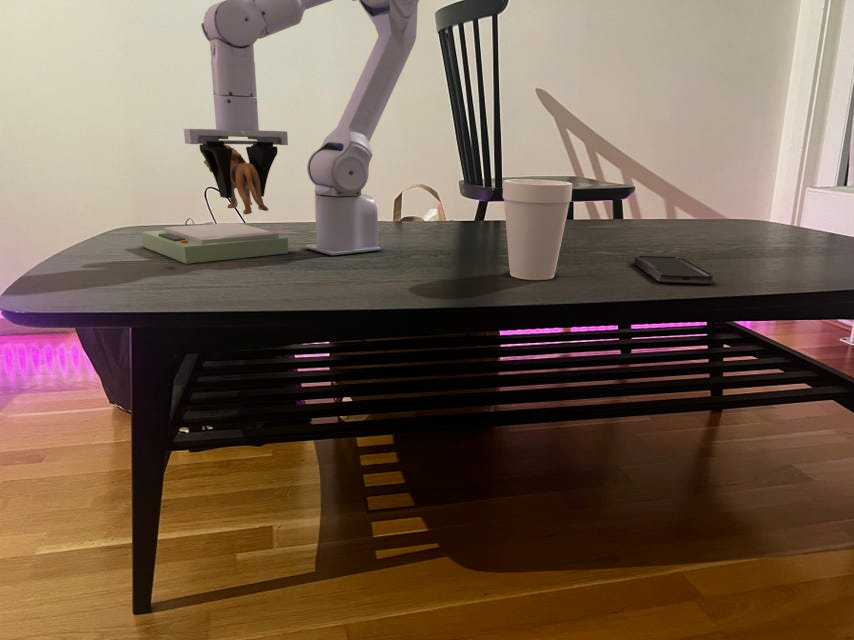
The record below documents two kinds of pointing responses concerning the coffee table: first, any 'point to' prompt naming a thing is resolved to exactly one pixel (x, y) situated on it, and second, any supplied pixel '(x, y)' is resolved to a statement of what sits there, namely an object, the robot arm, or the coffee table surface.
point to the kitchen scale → (214, 242)
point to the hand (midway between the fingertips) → (242, 196)
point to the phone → (673, 270)
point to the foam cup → (535, 225)
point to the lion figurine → (244, 182)
